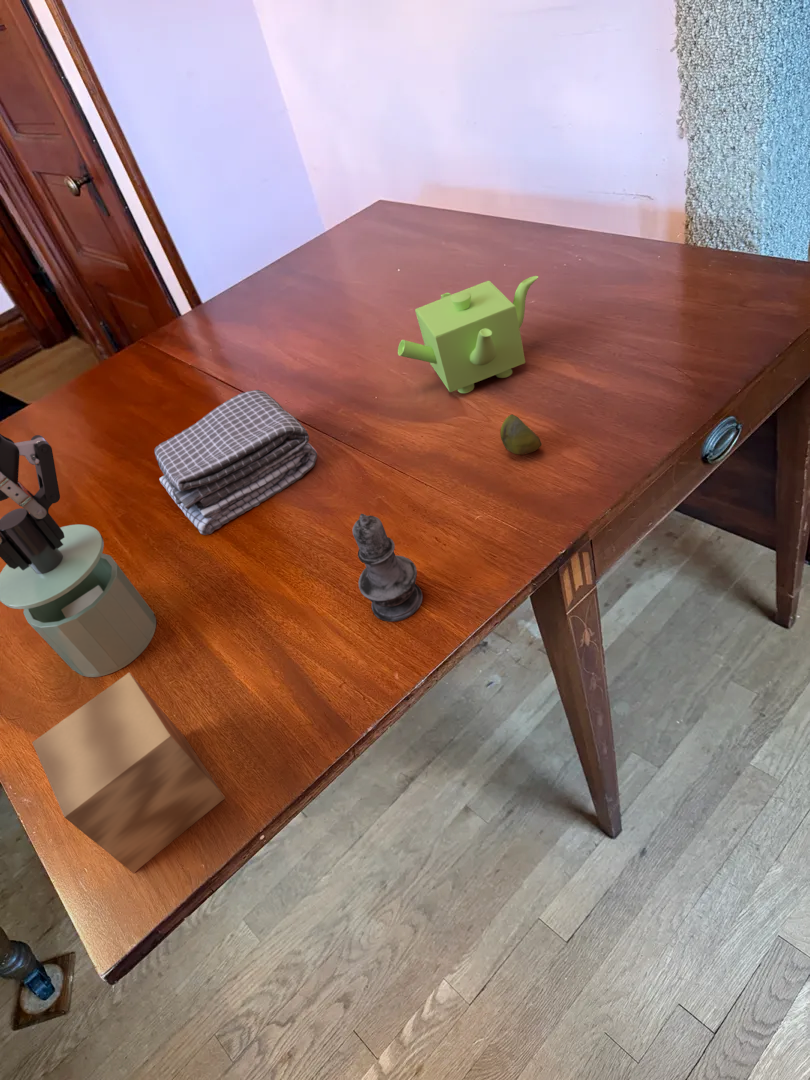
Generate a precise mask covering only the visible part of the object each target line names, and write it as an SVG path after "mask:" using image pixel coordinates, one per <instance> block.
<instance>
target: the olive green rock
mask: <svg viewBox="0 0 810 1080" xmlns="http://www.w3.org/2000/svg"><path fill="white" fill-rule="evenodd" d="M499 431H500V432H499V433H500V434H499V435H500V440H501V442H502V444H503V446H504V447H505V449H506V450H507V451H508V452H510V453H512V454H514V455H527V454H532V453H533V452H536V451H537V450H539V449H540V448H541V446H542V445H543V443H542V441H541V438H540V437H539V436H538V435H537V434H536V433H535V432H534V431H533V430H532V429H531V428H530V427H529V426H528V425H527V424H525V422H524V421H523V420H522V419H520V418H519V417H518V416H517V415H514V414H512V413H511V414H510V415H508V416H507V417H506V418H505V419H504V421H503V422H502V424H501V427H500V430H499Z"/></svg>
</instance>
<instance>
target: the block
mask: <svg viewBox="0 0 810 1080" xmlns="http://www.w3.org/2000/svg"><path fill="white" fill-rule="evenodd" d="M102 593H103V589H102V588H101V587H100V586H99V585H98V586H96V587H95V588H93V589H92V590H90V591H89V592H87V593H86V594H84V595H83V596H81V597H80V598H78V599H77V600H75V601H73V602H72V603H70V604H69V605H67V606H66V607H64V608H63V609H61V610H62V612H63V614H64V616H65V618H68V617H71V616H73V615H76V614H78V613H79V612H80V611H82V610H83V609H85V608H86V607H88V606H89V605H91V604H92V603H93V602H94V601H95V600H96V599H97V598H98V597H99V596H100V595H101V594H102Z"/></svg>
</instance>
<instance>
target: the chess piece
mask: <svg viewBox="0 0 810 1080" xmlns="http://www.w3.org/2000/svg"><path fill="white" fill-rule="evenodd" d="M352 535H353V538H354V540H355V543H356V544H357V547H358V552H357V557H358V559H359V561H360V562H361V563H363V564H364V565H365V568H364V569H363V570H362V572H361V574H359V578H358V589H359V591H360V593H361V595H362V596H364V598H366V599H368V600H369V602H371V604H370V605H371V611H372V613H373V615H374V616H375V617H376V618H377V619H379V620H381V621H384V622H388V623H393V622H400V621H404V620H405V619H407V618H410V617H411V616H413V615H414V614H415V613H416V612H417V611H418V610H419V608H420V607H421V605H422V603H423V598H424V597H423V596H424V595H423V591H422V589H421V587H420V586H419V585H418V584H417V583H416V582H417V577H418V571H417V566H416V564H415V563H414V561H412V560H411V559H410V558H409V557H407V556H403V555H397V554H396V553H395V548H396V544H395V542H394V540H393V539H392V538H391V537H388V535H387V532H386V530H385V527H384V525H383V522H382V521H381V519H380V518H378V517H377V516H374V515H366V514H365V513H360V514H359V516H358V519H356V521H355V523H354V524H353V526H352Z"/></svg>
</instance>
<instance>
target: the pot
mask: <svg viewBox="0 0 810 1080" xmlns="http://www.w3.org/2000/svg"><path fill="white" fill-rule="evenodd" d="M98 585H99V586H100V587H101V588H102V589H103V593H102V594H101V595H100V596H99V597H98V598H97V599H96V600H95V601H94V602H93V603H92V604H91V605H89V606H88V607H86V608H85V609H83V610H82V611H80V612H79V613H78V614H76V615H73V616H71V617H68V618H65V616H64V614H63V612H62V610H61V609H63V608H64V607H66V606H67V605H69V604H70V603H72V602H73V601H75V600H77V599H78V598H80V597H81V596H83V595H84V594H86V593H87V592H89V591H90V590H92V589H93V588H95V587H96V586H98ZM23 615H24V616H23V617H25V620H26V622H27V623H28V625H30V626H31V628H32V629H33V630H34V631H35V632H36V633H37V634H38V635H39V636H40V637H41V638H42V639H43V640H44V642H45V643H46V644H48V645H49V647H50V648H51V649H52V650H53V651H54V652H55V653H56V654H57V655H58V657H60V658H61V659H62V660H63V662H64V663H65V664H66V665H67V666H68V667H69V668H70V669H71V670H72V671H74V672H75V673H76V674H78V675H80V676H82V677H86V678H99V677H105V676H108V675H111V674H114V673H115V672H118V671H120V670H121V669H123V668H125V667H126V666H128V665H130V664H131V663H132V662H134V661H135V660H136V659H137V658H138V657H139V656H140V655H141V654H142V653H143V652H144V651H145V650H146V649H147V647H148V646H149V644H150V643H151V641H152V639H153V637H154V635H155V632H156V629H157V617H156V614H155V612H154V611H153V610H152V608H151V607H150V606H149V604H148V603H147V601H146V600H145V599H144V598H143V596H142V595H141V594H140V592H139V591H138V590H137V588H136V587H135V585H134V584H133V583H132V582H131V580H130V579H129V577H128V576H127V575H126V574H125V572H124V571H123V570H122V568H121V567H120V565H118V563H117V562H116V560H115V559H114V558H113V557H112V555H110V554H106V553H103V552H102V555H101V558H100V560H99V562H98V563H97V565H96V566H95V568H94V569H93V570H92V572H91V573H90V574H89V575H88V576H87V577H86V578H85V579H84V580H83V581H82V582H81V583H80V584H78V585H77V586H76V587H75V588H73V589H72V590H70V591H69V592H68V593H66V594H64V595H63V596H61V597H59V598H57V599H55V600H53V601H51V602H49V603H47V604H44V605H41V606H38V607H34V608H28V609H23Z"/></svg>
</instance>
